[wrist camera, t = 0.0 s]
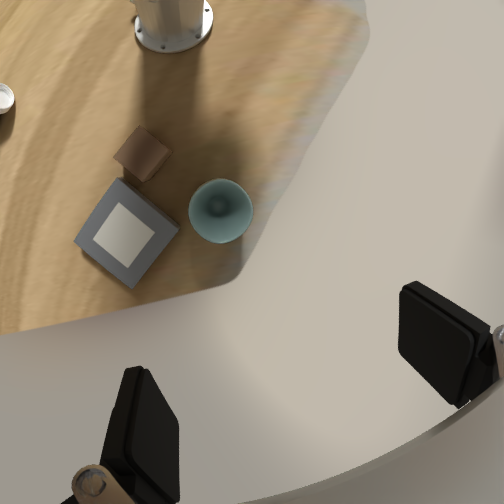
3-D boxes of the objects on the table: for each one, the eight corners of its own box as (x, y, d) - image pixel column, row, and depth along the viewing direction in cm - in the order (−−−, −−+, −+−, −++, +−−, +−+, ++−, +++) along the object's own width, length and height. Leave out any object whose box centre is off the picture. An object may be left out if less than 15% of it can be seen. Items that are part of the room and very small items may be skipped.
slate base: (80, 236, 42) (72, 241, 39) (122, 177, 41) (116, 177, 38) (135, 282, 46) (131, 290, 43) (180, 226, 45) (179, 230, 42)
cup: (252, 206, 46) (266, 216, 36) (213, 238, 46) (217, 256, 36) (220, 167, 43) (225, 166, 34) (180, 200, 44) (174, 208, 34)
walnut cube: (123, 158, 40) (113, 157, 35) (146, 130, 40) (139, 125, 35) (149, 180, 42) (142, 182, 37) (172, 152, 41) (168, 149, 36)
